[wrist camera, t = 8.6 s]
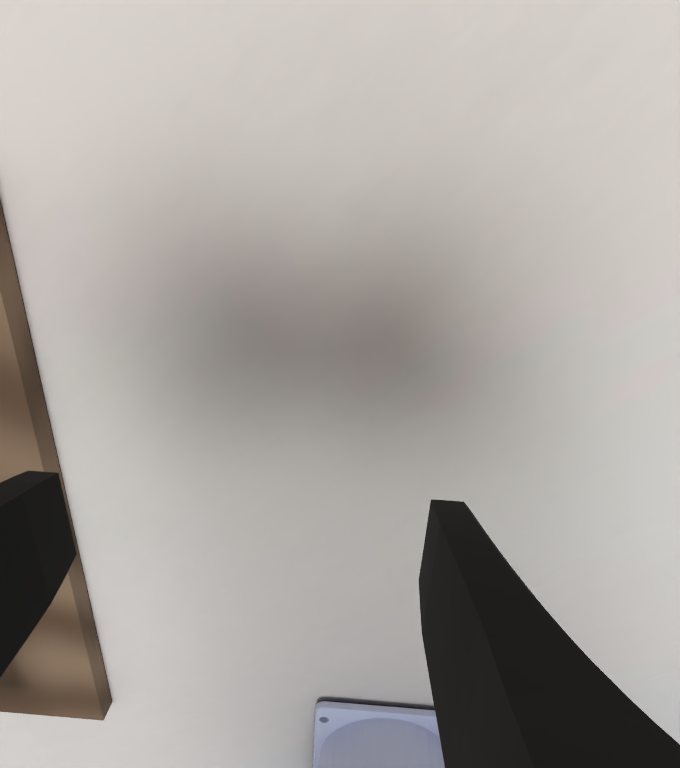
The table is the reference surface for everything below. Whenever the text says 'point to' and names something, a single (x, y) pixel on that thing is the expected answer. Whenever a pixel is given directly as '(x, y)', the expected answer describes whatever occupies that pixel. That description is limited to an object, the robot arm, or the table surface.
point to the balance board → (71, 604)
